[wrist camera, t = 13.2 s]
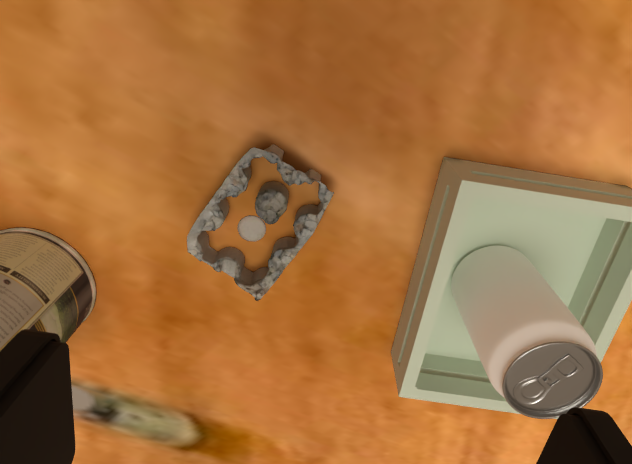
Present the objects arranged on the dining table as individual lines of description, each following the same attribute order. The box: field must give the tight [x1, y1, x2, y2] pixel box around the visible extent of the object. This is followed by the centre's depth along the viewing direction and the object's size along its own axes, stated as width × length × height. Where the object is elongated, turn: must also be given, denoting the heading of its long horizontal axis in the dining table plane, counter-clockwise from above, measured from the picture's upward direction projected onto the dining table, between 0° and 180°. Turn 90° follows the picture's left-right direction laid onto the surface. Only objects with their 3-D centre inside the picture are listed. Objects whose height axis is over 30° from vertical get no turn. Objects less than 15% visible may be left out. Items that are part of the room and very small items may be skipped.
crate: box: [391, 157, 632, 419], centre depth 37 cm, size 18×14×6 cm
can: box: [451, 246, 603, 419], centre depth 34 cm, size 6×6×12 cm
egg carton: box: [187, 144, 334, 301], centre depth 37 cm, size 11×8×4 cm
